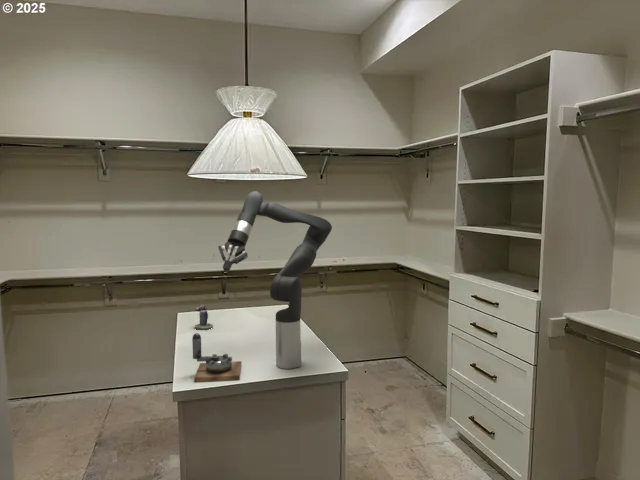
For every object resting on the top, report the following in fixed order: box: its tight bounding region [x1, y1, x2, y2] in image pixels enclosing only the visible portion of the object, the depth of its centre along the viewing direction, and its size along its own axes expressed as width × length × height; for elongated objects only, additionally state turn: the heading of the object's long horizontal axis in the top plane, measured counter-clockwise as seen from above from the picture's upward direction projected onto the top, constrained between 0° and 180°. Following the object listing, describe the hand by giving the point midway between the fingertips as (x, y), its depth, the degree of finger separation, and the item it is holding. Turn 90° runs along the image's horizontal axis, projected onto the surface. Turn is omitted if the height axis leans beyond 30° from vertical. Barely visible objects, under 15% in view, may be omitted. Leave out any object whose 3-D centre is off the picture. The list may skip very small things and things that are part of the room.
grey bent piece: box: [191, 333, 233, 373], centre depth 159 cm, size 14×9×13 cm, turn 95°
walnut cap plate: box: [194, 360, 242, 383], centre depth 160 cm, size 15×14×2 cm
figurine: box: [194, 304, 214, 331], centre depth 217 cm, size 8×8×12 cm
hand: (225, 270), depth 177 cm, fingers closed
